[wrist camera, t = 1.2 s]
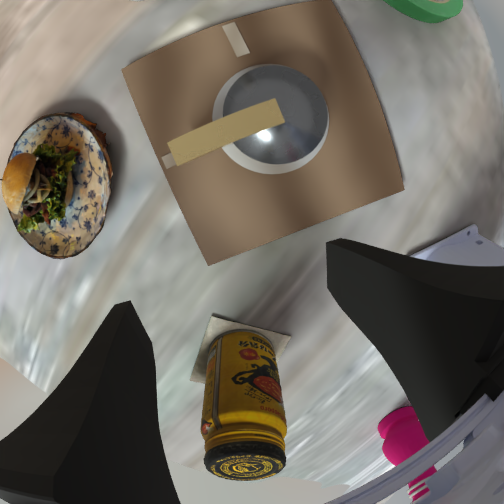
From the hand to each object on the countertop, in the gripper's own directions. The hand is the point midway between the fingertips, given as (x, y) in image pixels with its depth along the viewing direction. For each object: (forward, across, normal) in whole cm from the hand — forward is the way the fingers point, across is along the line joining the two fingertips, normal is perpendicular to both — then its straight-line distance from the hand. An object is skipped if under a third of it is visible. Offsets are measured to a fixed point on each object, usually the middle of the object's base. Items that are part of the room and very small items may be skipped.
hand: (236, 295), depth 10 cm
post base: (+11, -6, -5) cm, 13 cm away
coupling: (+10, -4, -5) cm, 12 cm away
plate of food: (+15, +11, -4) cm, 19 cm away
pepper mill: (+3, -18, +34) cm, 38 cm away
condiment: (+10, 0, +14) cm, 18 cm away
